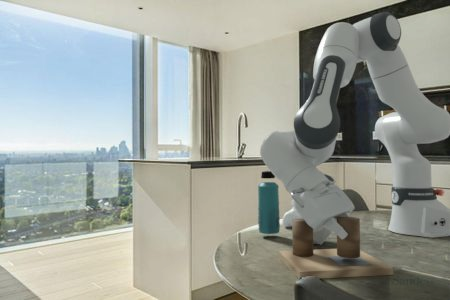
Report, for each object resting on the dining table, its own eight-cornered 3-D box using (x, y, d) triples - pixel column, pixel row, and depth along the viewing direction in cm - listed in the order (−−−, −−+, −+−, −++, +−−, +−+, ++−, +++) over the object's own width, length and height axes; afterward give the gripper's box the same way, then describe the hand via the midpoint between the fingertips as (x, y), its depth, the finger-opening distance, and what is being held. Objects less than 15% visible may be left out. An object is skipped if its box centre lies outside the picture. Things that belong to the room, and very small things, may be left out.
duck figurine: (286, 235, 122) (304, 211, 117) (271, 219, 126) (288, 195, 121) (305, 230, 131) (322, 207, 126) (290, 215, 135) (306, 192, 130)
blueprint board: (356, 253, 91) (355, 215, 91) (393, 274, 75) (392, 228, 75) (278, 257, 89) (278, 218, 89) (299, 279, 73) (299, 231, 73)
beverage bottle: (279, 239, 107) (278, 171, 107) (256, 238, 108) (256, 171, 109) (280, 234, 113) (279, 170, 114) (259, 234, 115) (258, 170, 115)
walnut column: (353, 251, 83) (353, 216, 83) (364, 257, 78) (363, 220, 78) (333, 252, 82) (333, 217, 82) (342, 258, 77) (342, 220, 77)
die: (336, 244, 104) (322, 213, 109) (335, 234, 96) (320, 201, 102) (308, 254, 105) (295, 223, 110) (304, 245, 97) (291, 212, 103)
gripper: (297, 181, 76) (344, 233, 70) (334, 176, 92) (375, 218, 86) (278, 201, 79) (322, 253, 73) (318, 192, 95) (356, 235, 89)
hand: (351, 234), depth 80 cm, fingers closed on walnut column, 5 cm apart
